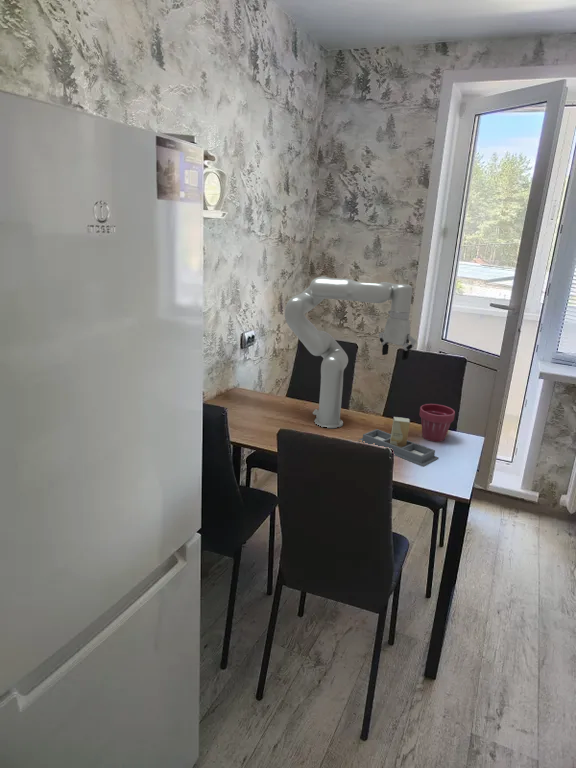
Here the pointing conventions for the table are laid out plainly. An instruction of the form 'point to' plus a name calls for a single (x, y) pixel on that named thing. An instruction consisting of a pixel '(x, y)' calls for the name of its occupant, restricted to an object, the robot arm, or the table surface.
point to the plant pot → (435, 421)
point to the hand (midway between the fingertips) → (394, 357)
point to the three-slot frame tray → (408, 452)
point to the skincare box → (399, 431)
